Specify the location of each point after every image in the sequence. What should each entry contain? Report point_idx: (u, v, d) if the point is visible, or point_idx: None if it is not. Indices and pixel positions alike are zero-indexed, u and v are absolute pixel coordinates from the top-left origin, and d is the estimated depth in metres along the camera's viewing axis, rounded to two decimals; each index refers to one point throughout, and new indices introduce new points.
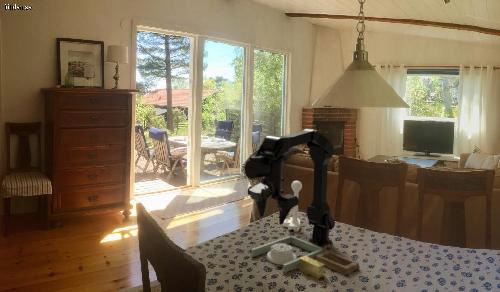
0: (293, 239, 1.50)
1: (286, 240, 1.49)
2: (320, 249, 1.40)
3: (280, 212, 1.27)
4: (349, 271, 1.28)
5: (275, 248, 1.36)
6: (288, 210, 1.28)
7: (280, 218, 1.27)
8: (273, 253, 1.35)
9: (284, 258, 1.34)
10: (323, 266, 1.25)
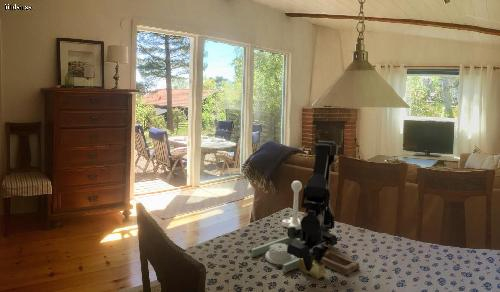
0: (293, 239, 1.50)
1: (286, 240, 1.49)
2: None
3: None
4: (349, 271, 1.28)
5: (273, 248, 1.36)
6: (309, 259, 1.24)
7: None
8: (271, 253, 1.35)
9: (282, 258, 1.34)
10: (323, 265, 1.25)
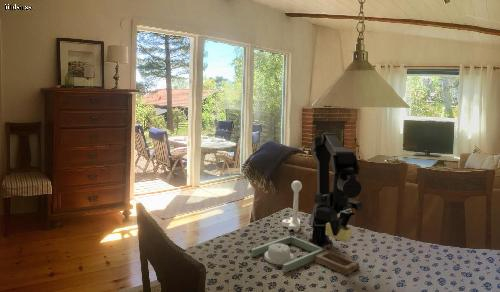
0: (293, 239, 1.50)
1: (286, 240, 1.49)
2: (320, 249, 1.40)
3: None
4: (349, 271, 1.28)
5: (272, 248, 1.36)
6: (336, 223, 1.28)
7: None
8: (270, 253, 1.35)
9: (281, 258, 1.33)
10: (350, 230, 1.29)
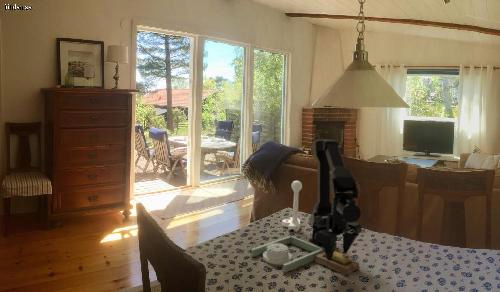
0: (293, 239, 1.50)
1: (286, 240, 1.49)
2: (320, 249, 1.40)
3: None
4: (349, 271, 1.28)
5: (271, 248, 1.35)
6: (330, 248, 1.28)
7: None
8: (269, 253, 1.35)
9: (280, 258, 1.33)
10: (349, 258, 1.31)
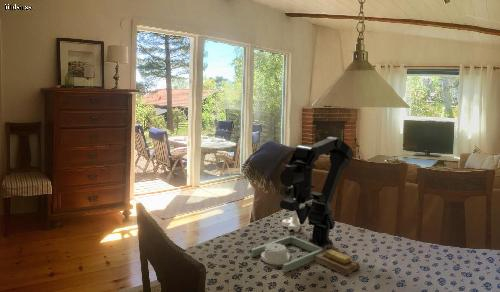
0: (293, 239, 1.50)
1: (286, 240, 1.49)
2: (320, 249, 1.40)
3: None
4: (349, 271, 1.28)
5: (269, 248, 1.35)
6: (302, 213, 1.39)
7: None
8: (267, 253, 1.35)
9: (277, 258, 1.33)
10: (349, 258, 1.31)
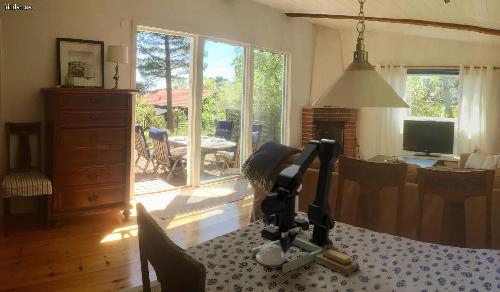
0: None
1: None
2: (320, 249, 1.40)
3: None
4: (349, 271, 1.28)
5: (264, 248, 1.35)
6: (285, 241, 1.35)
7: None
8: (261, 253, 1.34)
9: (272, 259, 1.33)
10: (349, 259, 1.31)
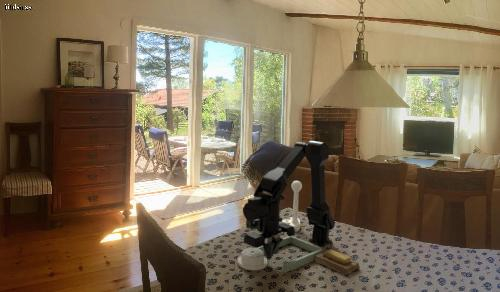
0: (293, 239, 1.50)
1: (286, 240, 1.49)
2: (320, 249, 1.40)
3: None
4: (349, 271, 1.28)
5: (245, 252, 1.32)
6: (269, 247, 1.30)
7: None
8: (241, 256, 1.31)
9: (250, 263, 1.29)
10: (349, 259, 1.31)
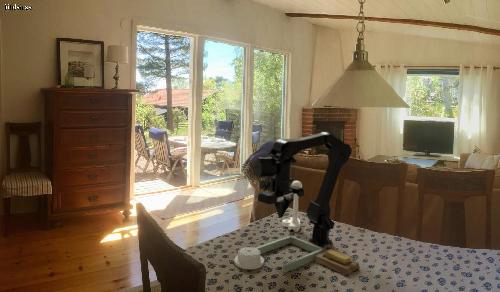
0: (293, 239, 1.50)
1: (286, 240, 1.49)
2: (320, 249, 1.40)
3: None
4: (349, 271, 1.28)
5: (241, 251, 1.32)
6: (280, 206, 1.40)
7: None
8: (238, 255, 1.32)
9: (246, 262, 1.29)
10: (349, 259, 1.31)
